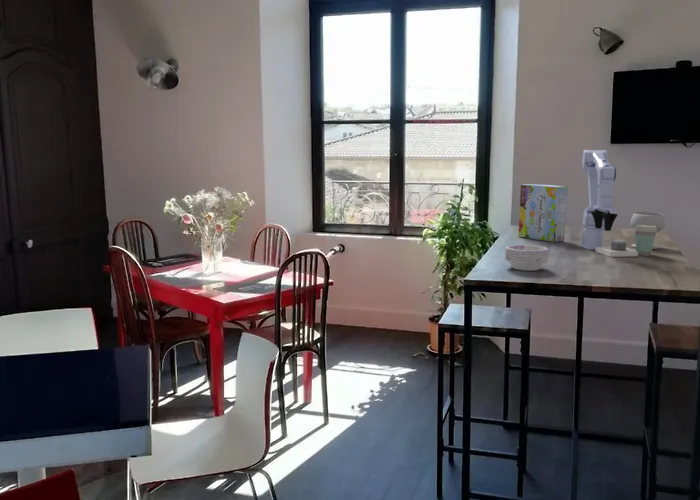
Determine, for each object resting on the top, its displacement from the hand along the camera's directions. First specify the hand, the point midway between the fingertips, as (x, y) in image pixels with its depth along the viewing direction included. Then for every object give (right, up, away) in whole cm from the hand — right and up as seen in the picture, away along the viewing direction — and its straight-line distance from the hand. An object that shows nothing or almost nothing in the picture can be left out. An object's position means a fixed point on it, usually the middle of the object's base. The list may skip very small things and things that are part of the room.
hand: (602, 229), depth 266 cm
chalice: (+27, -7, +20) cm, 35 cm away
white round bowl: (-39, -16, -29) cm, 51 cm away
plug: (+7, -10, +2) cm, 13 cm away
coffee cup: (+18, -11, +2) cm, 21 cm away
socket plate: (+7, -10, +3) cm, 13 cm away
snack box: (-13, -3, +42) cm, 44 cm away
